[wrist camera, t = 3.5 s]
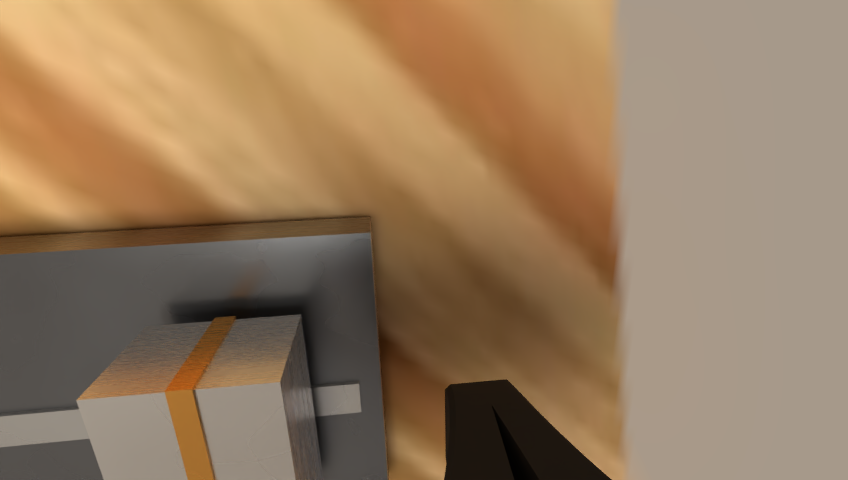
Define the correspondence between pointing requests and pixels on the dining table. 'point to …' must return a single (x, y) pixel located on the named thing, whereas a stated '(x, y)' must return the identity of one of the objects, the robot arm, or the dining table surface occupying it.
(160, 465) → the block
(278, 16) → the dining table surface
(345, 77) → the dining table surface
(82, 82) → the dining table surface
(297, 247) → the plate
